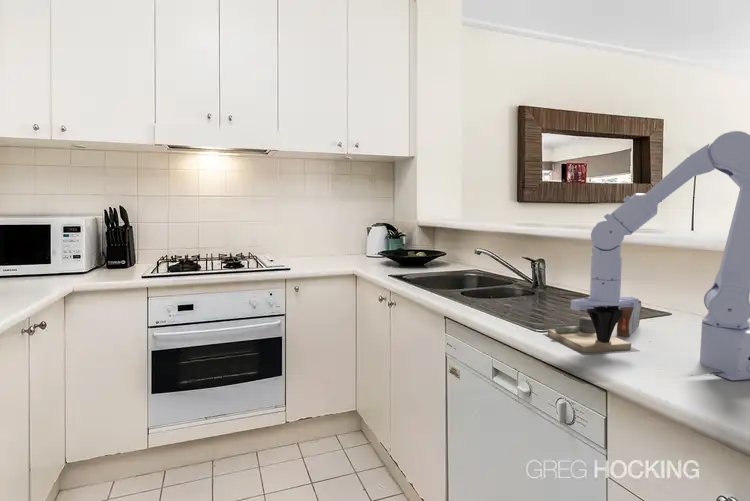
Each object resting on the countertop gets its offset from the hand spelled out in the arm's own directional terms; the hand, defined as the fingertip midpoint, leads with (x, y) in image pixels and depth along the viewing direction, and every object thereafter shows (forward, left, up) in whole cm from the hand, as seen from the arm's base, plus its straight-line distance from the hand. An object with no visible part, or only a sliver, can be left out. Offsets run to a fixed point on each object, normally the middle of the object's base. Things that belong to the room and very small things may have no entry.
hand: (603, 341), depth 99 cm
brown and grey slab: (+11, -16, -3) cm, 20 cm away
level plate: (+5, 0, -2) cm, 6 cm away
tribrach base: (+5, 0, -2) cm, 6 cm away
